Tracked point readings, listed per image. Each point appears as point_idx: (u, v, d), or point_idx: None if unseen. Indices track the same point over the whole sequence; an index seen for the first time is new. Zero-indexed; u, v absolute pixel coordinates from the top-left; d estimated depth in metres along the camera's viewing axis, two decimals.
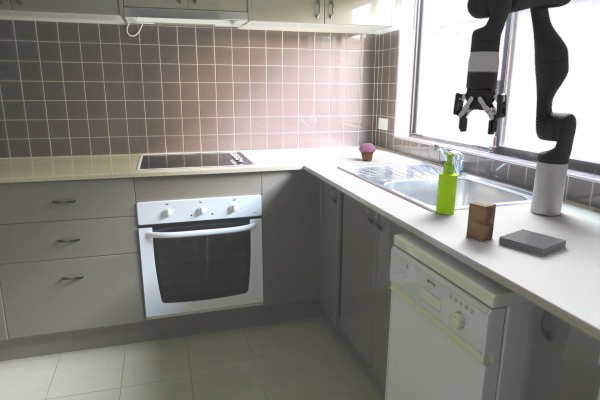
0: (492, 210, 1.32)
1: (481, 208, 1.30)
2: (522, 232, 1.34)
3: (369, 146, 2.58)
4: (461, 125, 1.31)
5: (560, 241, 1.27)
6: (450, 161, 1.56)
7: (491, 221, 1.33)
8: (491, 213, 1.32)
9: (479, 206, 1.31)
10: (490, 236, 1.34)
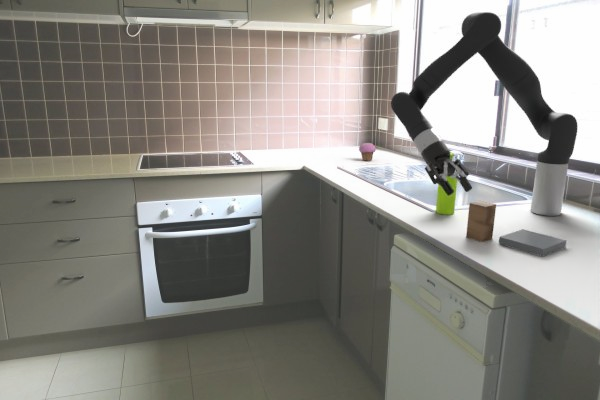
0: (492, 210, 1.32)
1: (481, 208, 1.30)
2: (522, 232, 1.34)
3: (369, 146, 2.58)
4: None
5: (560, 241, 1.27)
6: None
7: (492, 221, 1.33)
8: (491, 213, 1.32)
9: (479, 206, 1.31)
10: (490, 236, 1.34)
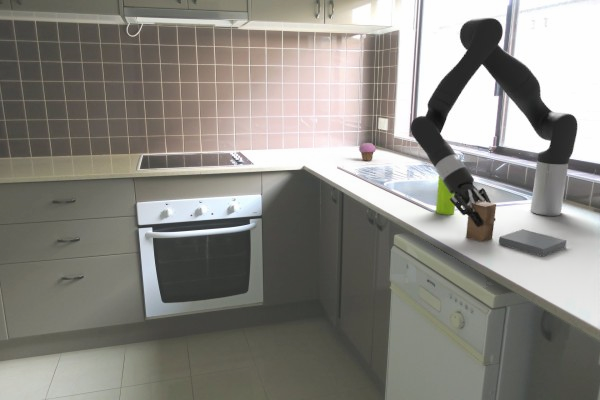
0: (491, 210, 1.32)
1: (481, 208, 1.30)
2: (522, 232, 1.34)
3: (369, 146, 2.58)
4: None
5: (560, 241, 1.27)
6: None
7: (491, 220, 1.33)
8: (491, 213, 1.32)
9: (479, 206, 1.31)
10: (490, 236, 1.34)
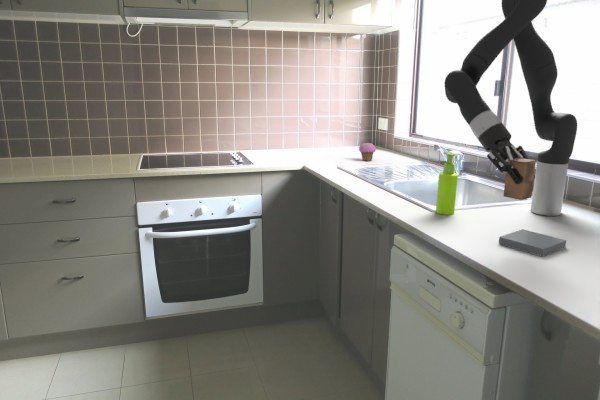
0: (531, 166, 1.25)
1: (521, 164, 1.24)
2: (522, 232, 1.34)
3: (369, 146, 2.58)
4: None
5: (560, 241, 1.27)
6: (450, 161, 1.56)
7: (531, 178, 1.26)
8: (531, 169, 1.25)
9: (518, 162, 1.24)
10: (529, 194, 1.27)
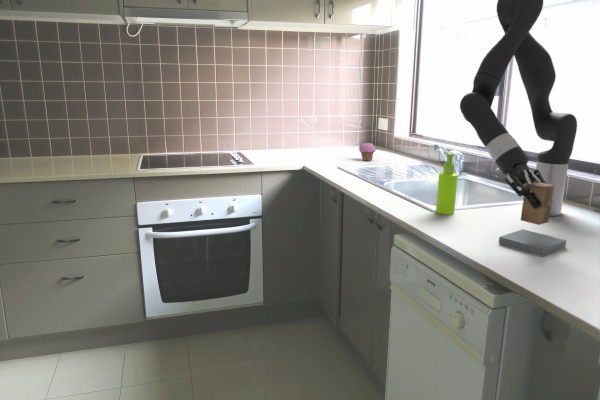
0: (550, 191, 1.24)
1: (539, 189, 1.23)
2: (522, 232, 1.34)
3: (369, 146, 2.58)
4: None
5: (560, 241, 1.27)
6: (450, 161, 1.56)
7: (549, 202, 1.25)
8: (549, 194, 1.24)
9: (537, 186, 1.23)
10: (547, 219, 1.26)
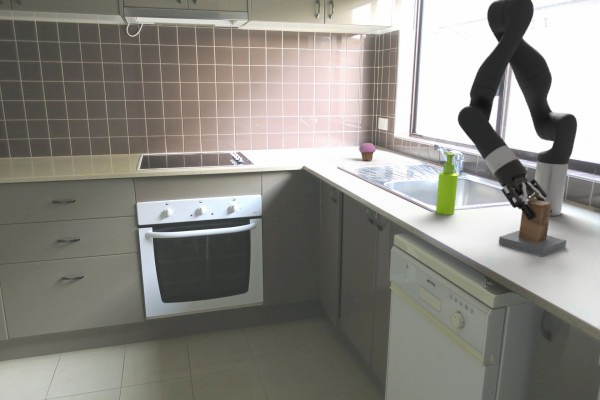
0: (547, 209, 1.25)
1: (537, 207, 1.24)
2: None
3: (369, 146, 2.58)
4: None
5: (560, 241, 1.27)
6: (450, 161, 1.56)
7: (546, 220, 1.27)
8: (547, 212, 1.26)
9: (534, 205, 1.25)
10: (544, 236, 1.28)
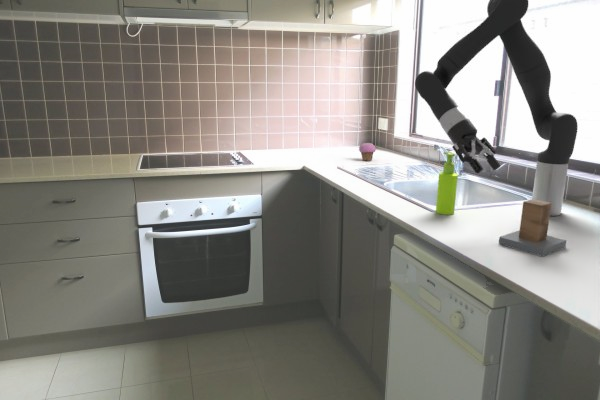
0: (547, 209, 1.25)
1: (537, 207, 1.24)
2: None
3: (369, 146, 2.58)
4: None
5: (560, 241, 1.27)
6: (450, 161, 1.56)
7: (546, 220, 1.27)
8: (547, 212, 1.26)
9: (534, 205, 1.25)
10: (544, 236, 1.28)
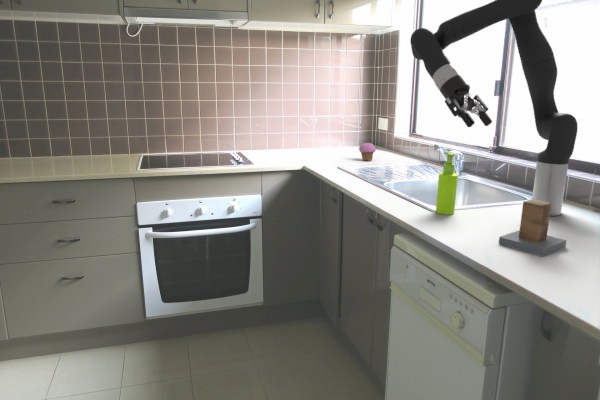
0: (547, 209, 1.25)
1: (537, 207, 1.24)
2: None
3: (369, 146, 2.58)
4: (483, 122, 1.42)
5: (560, 241, 1.27)
6: (450, 161, 1.56)
7: (546, 220, 1.27)
8: (547, 212, 1.26)
9: (534, 205, 1.25)
10: (544, 236, 1.28)
